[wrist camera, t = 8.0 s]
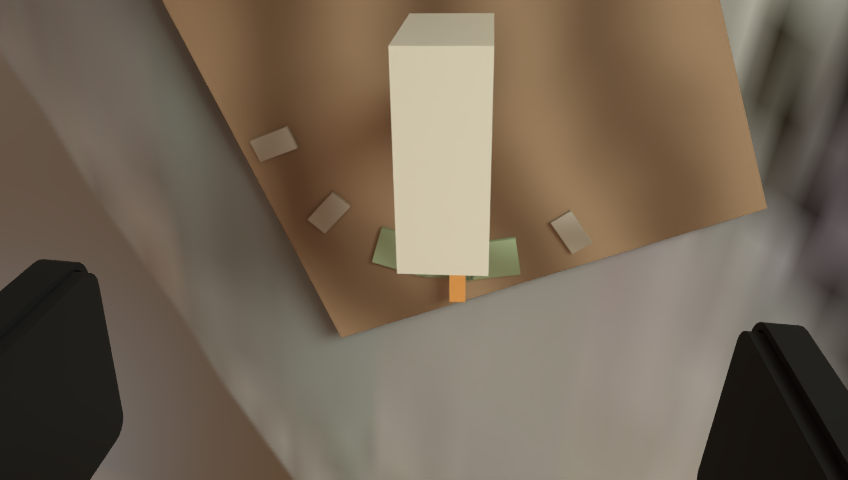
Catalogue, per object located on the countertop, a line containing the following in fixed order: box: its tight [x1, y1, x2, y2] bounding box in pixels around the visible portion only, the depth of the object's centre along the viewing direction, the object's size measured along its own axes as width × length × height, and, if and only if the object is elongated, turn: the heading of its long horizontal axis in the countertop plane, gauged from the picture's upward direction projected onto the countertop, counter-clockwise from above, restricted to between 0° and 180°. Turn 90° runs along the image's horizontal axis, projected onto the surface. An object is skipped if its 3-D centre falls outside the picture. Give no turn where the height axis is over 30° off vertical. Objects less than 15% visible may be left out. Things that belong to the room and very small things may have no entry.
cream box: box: [388, 13, 494, 302], centre depth 25 cm, size 13×3×11 cm, turn 1°
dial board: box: [162, 0, 767, 338], centre depth 29 cm, size 20×20×1 cm
